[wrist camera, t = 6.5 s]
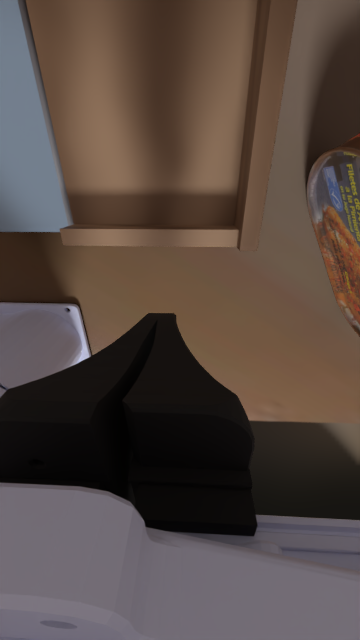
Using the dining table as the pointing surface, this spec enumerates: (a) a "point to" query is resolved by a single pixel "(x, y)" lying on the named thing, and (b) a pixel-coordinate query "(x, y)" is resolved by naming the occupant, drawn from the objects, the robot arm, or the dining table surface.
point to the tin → (339, 222)
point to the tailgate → (26, 134)
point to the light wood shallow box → (164, 115)
